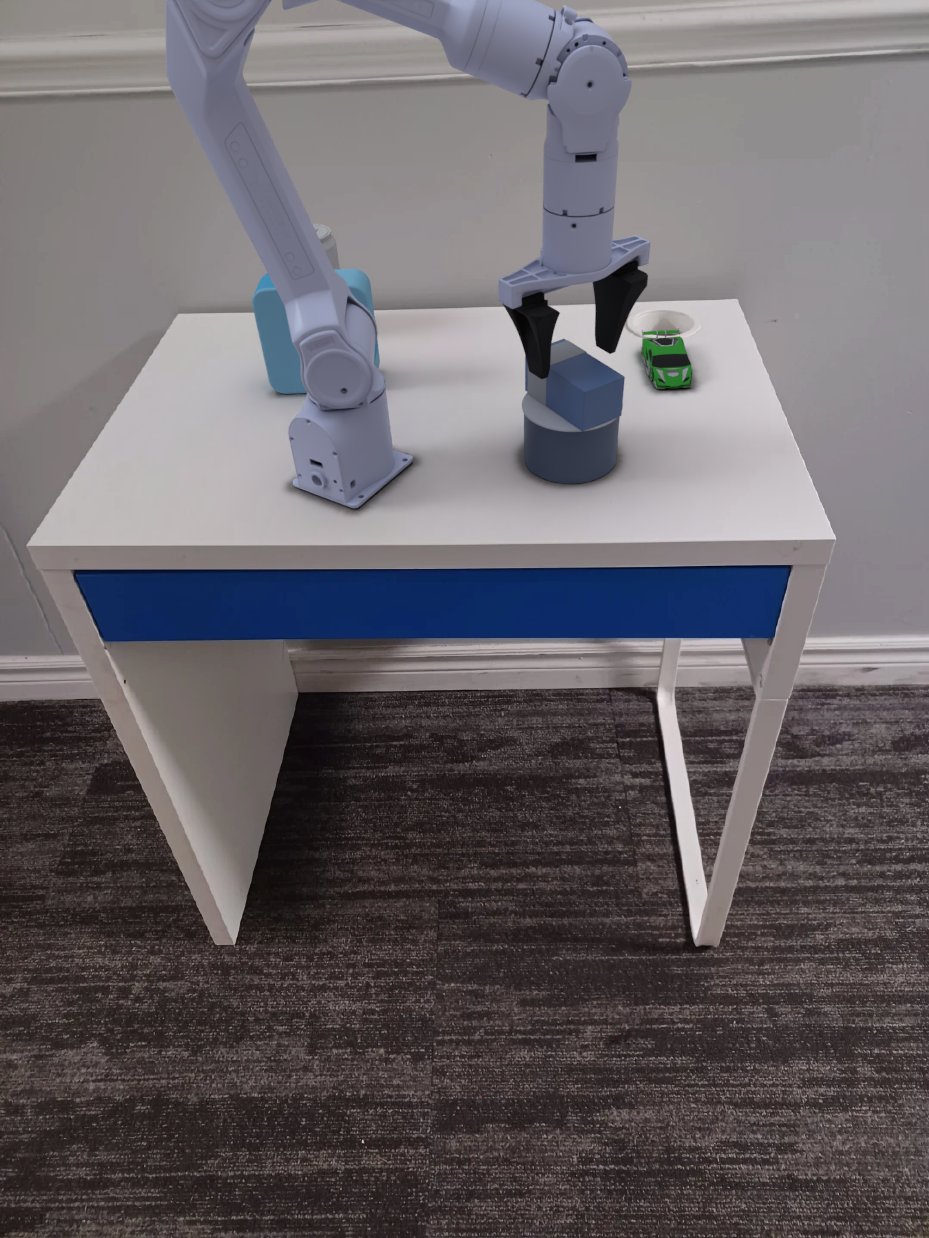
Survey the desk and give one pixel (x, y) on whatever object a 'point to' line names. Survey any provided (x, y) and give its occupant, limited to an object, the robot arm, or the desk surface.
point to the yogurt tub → (566, 445)
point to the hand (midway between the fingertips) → (572, 361)
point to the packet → (578, 387)
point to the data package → (276, 330)
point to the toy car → (666, 360)
